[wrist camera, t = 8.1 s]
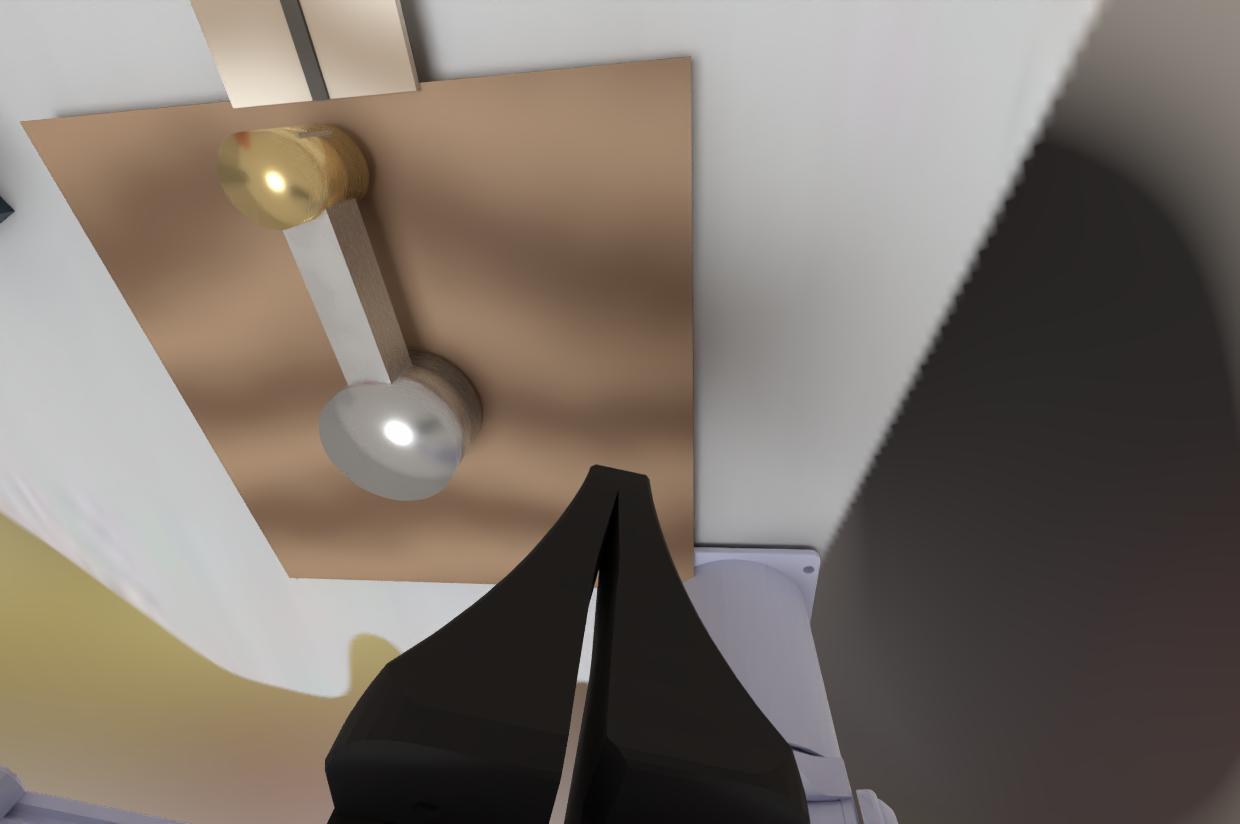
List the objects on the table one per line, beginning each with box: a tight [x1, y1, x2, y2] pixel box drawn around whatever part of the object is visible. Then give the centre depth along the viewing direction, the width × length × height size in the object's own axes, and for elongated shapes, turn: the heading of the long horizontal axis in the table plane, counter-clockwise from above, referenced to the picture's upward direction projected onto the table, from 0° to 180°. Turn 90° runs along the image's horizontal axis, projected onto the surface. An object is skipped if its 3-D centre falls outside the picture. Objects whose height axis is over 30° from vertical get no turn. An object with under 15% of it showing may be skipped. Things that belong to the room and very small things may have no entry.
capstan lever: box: [216, 124, 482, 501], centre depth 18 cm, size 13×5×4 cm, turn 6°
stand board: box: [20, 0, 694, 587], centre depth 21 cm, size 25×22×2 cm
